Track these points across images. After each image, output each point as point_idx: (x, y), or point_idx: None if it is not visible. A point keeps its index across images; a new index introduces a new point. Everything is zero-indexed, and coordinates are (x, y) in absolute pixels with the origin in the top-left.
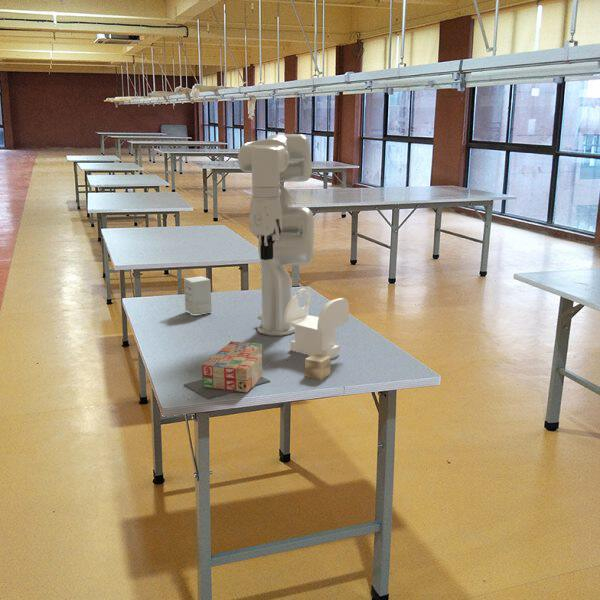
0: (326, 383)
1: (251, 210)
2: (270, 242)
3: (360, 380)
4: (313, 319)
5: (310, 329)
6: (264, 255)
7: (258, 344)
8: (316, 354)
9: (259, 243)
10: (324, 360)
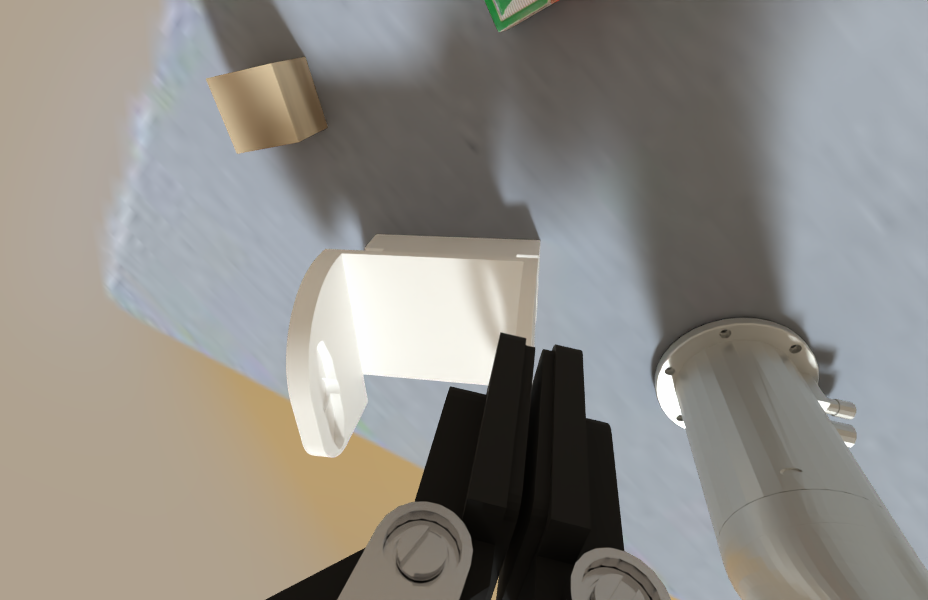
0: (208, 53)
1: None
2: (296, 595)
3: (177, 155)
4: (458, 351)
5: (380, 251)
6: (492, 377)
7: (500, 9)
8: (287, 140)
9: (651, 586)
10: (217, 105)
